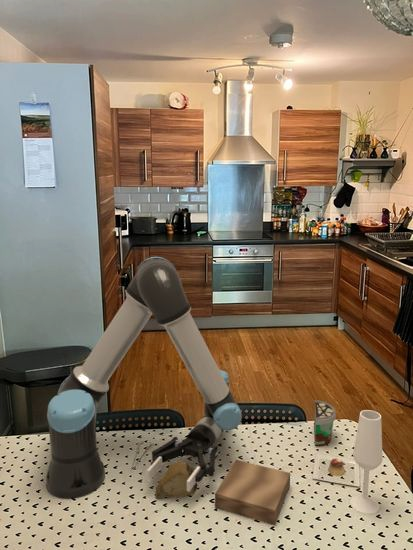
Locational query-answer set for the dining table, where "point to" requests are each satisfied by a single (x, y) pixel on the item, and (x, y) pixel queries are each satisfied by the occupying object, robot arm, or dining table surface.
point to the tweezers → (142, 454)
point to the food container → (323, 423)
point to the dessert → (337, 468)
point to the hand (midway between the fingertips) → (167, 480)
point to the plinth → (253, 491)
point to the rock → (175, 481)
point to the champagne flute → (367, 456)
